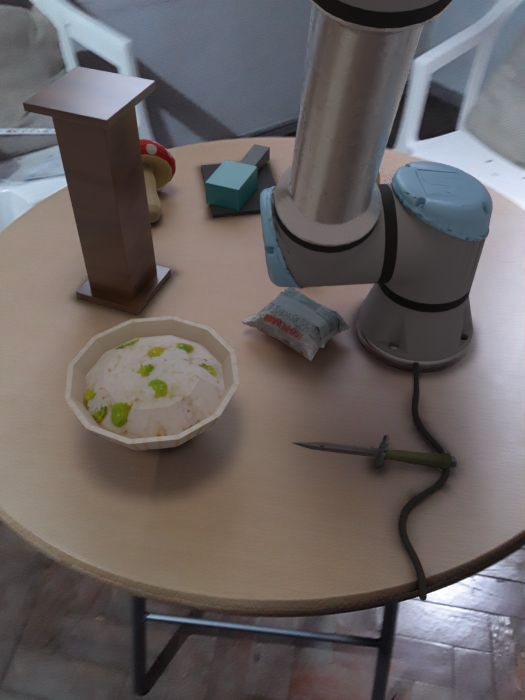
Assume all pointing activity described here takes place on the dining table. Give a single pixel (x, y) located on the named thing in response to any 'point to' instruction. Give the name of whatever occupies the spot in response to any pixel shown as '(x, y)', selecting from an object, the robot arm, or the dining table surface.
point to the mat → (253, 202)
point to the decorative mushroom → (156, 173)
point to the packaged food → (298, 322)
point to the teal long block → (236, 179)
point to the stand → (105, 182)
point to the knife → (386, 453)
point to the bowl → (152, 382)
